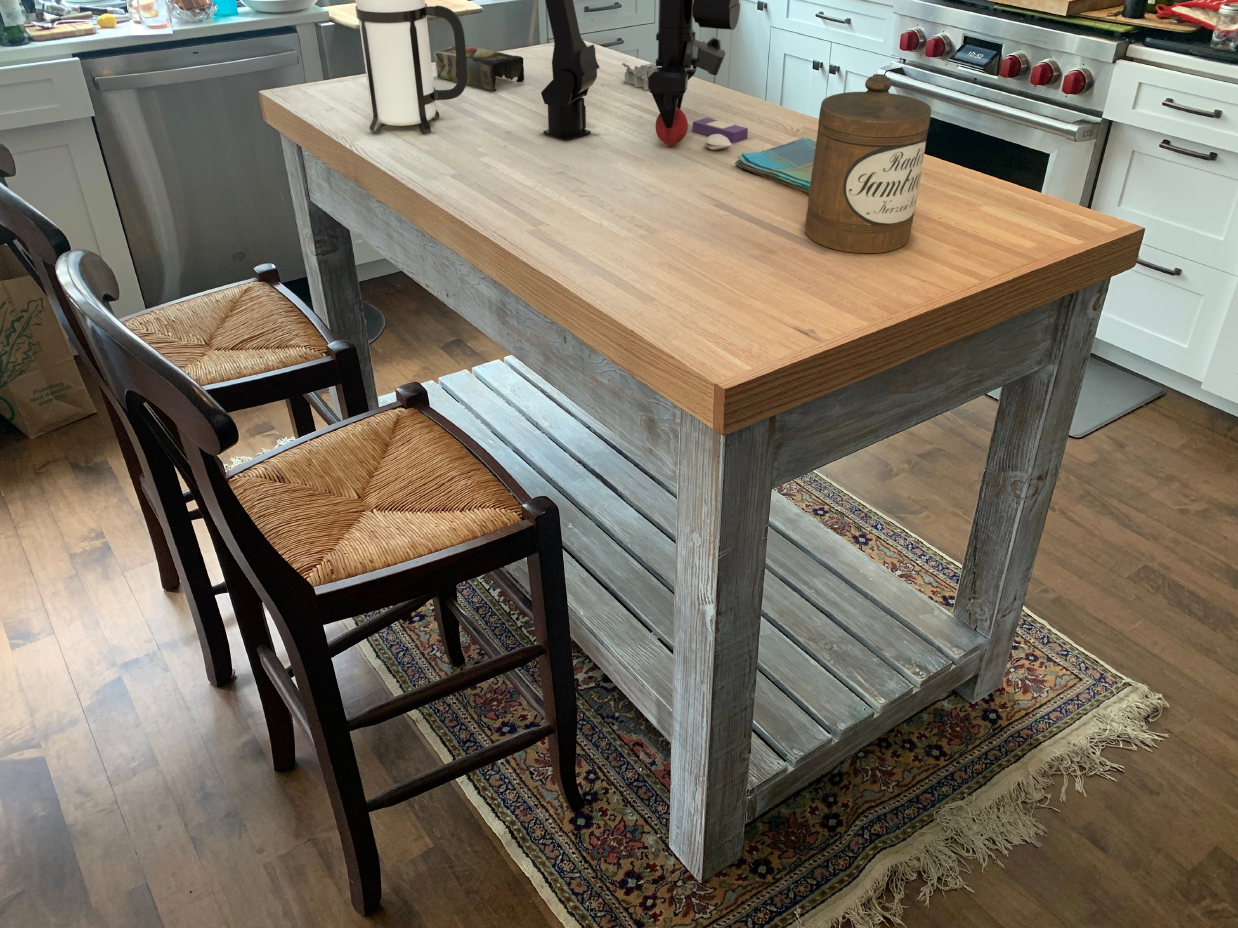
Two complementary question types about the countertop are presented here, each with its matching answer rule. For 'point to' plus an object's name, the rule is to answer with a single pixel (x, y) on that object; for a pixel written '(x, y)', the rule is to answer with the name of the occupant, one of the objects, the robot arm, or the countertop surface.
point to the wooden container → (867, 169)
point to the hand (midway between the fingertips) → (672, 120)
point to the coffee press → (404, 61)
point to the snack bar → (720, 129)
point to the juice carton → (480, 66)
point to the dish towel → (783, 163)
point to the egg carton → (639, 75)
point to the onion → (672, 129)
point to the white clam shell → (717, 142)
